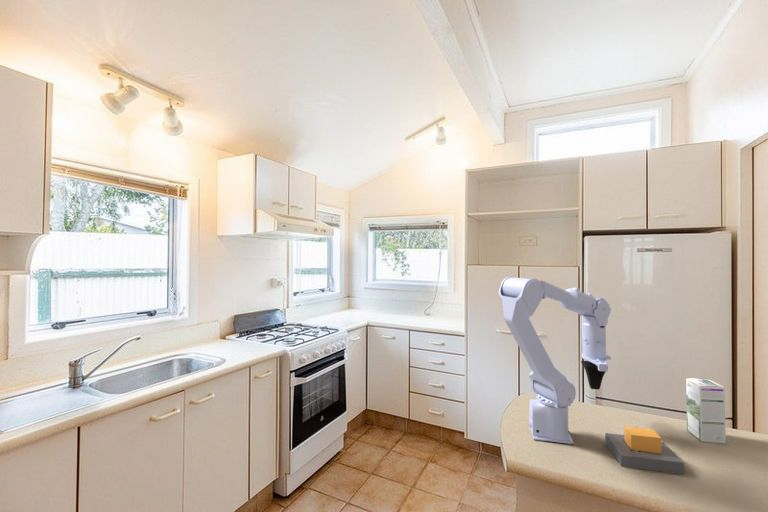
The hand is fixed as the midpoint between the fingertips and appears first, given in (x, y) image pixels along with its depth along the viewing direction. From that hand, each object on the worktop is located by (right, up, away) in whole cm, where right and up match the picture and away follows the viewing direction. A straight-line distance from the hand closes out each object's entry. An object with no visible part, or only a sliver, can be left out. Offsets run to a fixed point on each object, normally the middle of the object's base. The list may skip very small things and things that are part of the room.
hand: (594, 388), depth 97 cm
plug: (+2, -10, -15) cm, 18 cm away
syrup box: (+25, -10, -7) cm, 28 cm away
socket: (+2, -11, -15) cm, 18 cm away
